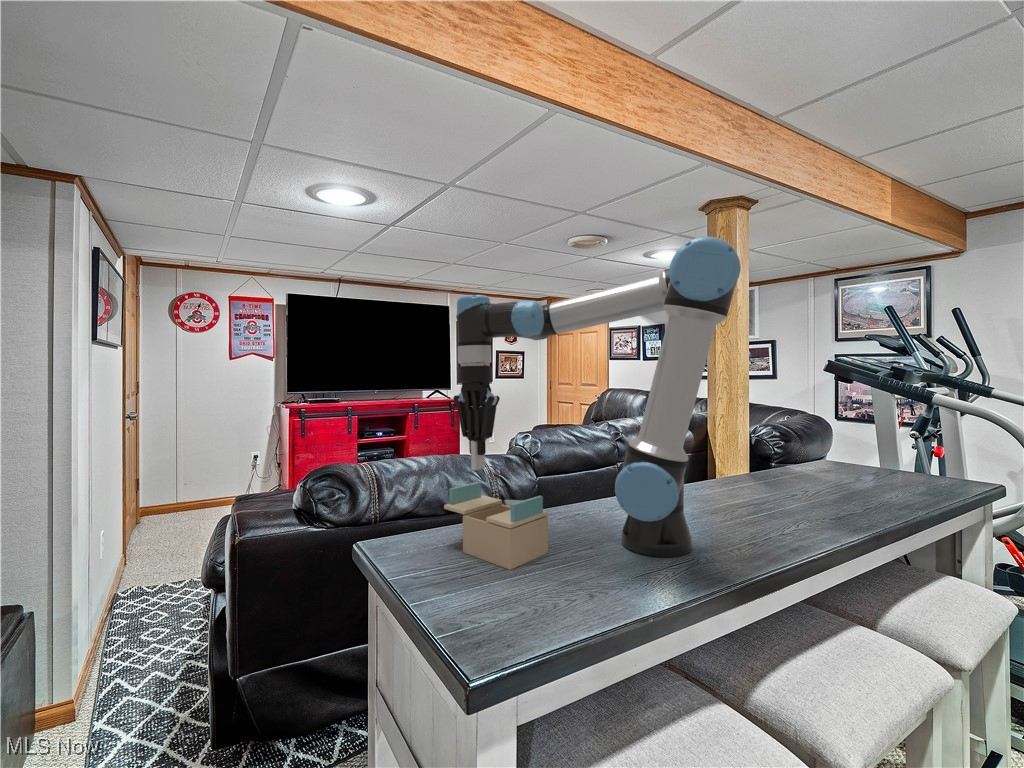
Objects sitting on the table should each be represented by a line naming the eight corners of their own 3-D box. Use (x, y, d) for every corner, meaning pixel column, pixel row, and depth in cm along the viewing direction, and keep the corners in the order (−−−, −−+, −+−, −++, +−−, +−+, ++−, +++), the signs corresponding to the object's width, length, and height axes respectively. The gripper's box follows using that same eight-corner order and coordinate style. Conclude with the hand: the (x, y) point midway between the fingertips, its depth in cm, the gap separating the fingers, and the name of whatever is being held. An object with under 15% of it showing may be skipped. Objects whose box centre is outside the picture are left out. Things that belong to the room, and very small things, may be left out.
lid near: (547, 515, 108) (547, 495, 108) (510, 528, 99) (510, 506, 99) (523, 509, 113) (523, 490, 112) (486, 521, 104) (486, 500, 104)
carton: (548, 552, 108) (548, 516, 108) (510, 569, 100) (509, 530, 99) (501, 538, 118) (501, 504, 118) (463, 552, 109) (462, 515, 109)
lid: (502, 503, 117) (502, 485, 117) (464, 514, 109) (464, 494, 108) (481, 498, 122) (481, 480, 122) (444, 508, 113) (443, 489, 113)
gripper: (507, 364, 112) (510, 469, 112) (468, 365, 121) (470, 463, 121) (482, 364, 106) (486, 475, 107) (443, 365, 115) (446, 468, 116)
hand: (478, 468), depth 114 cm, fingers closed
